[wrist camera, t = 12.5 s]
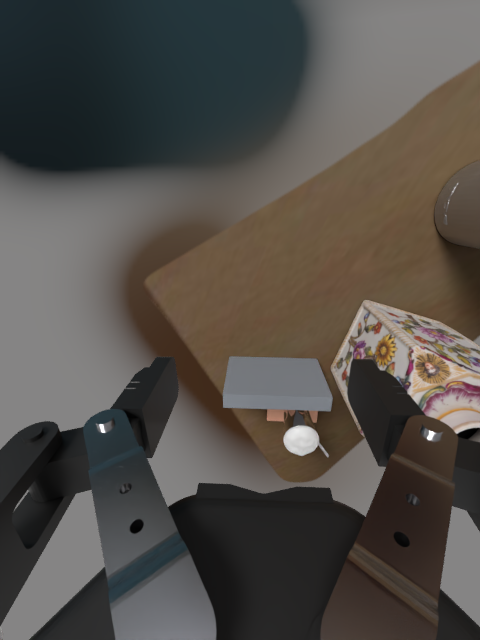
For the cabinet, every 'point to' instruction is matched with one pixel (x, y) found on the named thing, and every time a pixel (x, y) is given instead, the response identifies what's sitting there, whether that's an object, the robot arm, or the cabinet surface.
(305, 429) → the milkshake
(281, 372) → the screen
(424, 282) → the cabinet surface
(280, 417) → the mat
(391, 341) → the decorative jar
